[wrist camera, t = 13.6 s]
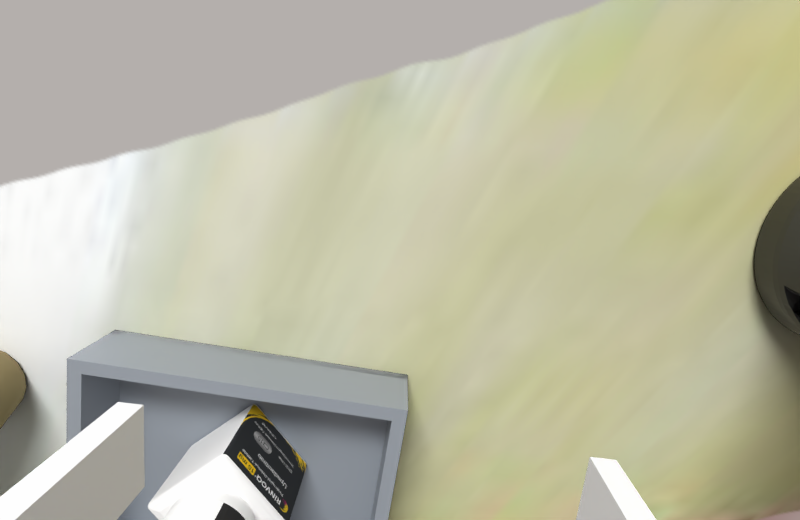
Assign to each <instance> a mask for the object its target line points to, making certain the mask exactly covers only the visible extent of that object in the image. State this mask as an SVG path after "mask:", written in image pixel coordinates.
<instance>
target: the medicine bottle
mask: <svg viewBox="0 0 800 520" xmlns="http://www.w3.org/2000/svg"><path fill="white" fill-rule="evenodd" d="M306 466H307V464H306V462H305V461H304V460H303V458H302V457H301V456H300V455H299V454H298V452H297V451H296V450H295V449H294V448H293V447H292V445H291V444H290V443H289V442H288V441H287V440H286V438H285V437H284V436H283V435H282V434H281V432H280V431H279V430H278V429H277V428H276V427H275V425H274V424H273V423H272V422H271V421H270V420H269V418H268V417H267V416H266V415H265V414H264V412H263V411H262V410H261V409H260V408H259V407H258V405H256V404H253V405H251V406H249V407H248V408H246V409H245V410H243V411H242V412H240V413H239V414H238V415H236V416H235V417H233V418H232V419H230V420H229V421H227V422H226V423H224V424H223V425H221V426H220V427H218V428H217V429H215V430H214V431H212V432H211V433H209V434H208V435H206V436H205V437H204V438H202V439H201V440H199V441H198V442H196V443H195V444H193V445H192V446H191V447H190V448H189V449H188V451H187V452H186V454H185V455H184V456H183V458H182V459H181V460H180V462H179V463H178V464H177V466H176V467H175V468H174V470H173V471H172V472H171V474H170V475H169V477H168V478H167V479H166V481H165V482H164V483H163V485H162V486H161V487H160V489H159V490H158V491H157V493H156V494H155V495H154V497H153V498H152V500H151V501H150V502H149V504H148V509H149V510H150V511H151V512H152V513H153V514H154V515H155V517H156V518H157V519H158V520H290V517H291V514H292V511H293V508H294V505H295V501H296V498H297V495H298V492H299V489H300V486H301V483H302V479H303V476H304V473H305V470H306Z"/></svg>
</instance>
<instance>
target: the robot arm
mask: <svg viewBox="0 0 800 520" xmlns="http://www.w3.org/2000/svg"><path fill="white" fill-rule="evenodd" d="M755 277H756V283H757V286H758V290H759V293H760V295H761V298H762V300H763V302H764V303H765V305H766V307H767V308H768V310H769V311H770V313H771V314H772V315H773V316H774V317H775V318H776V319H777V320H778V321H779V322H780V323H781V324H783V325H784V326H785V327H787V328H788V329H790V330H791V331H793V332H795V333H797V334H799V335H800V177H799V178H798V179H796V180H795V181H794V182H793V183H792V184H791V185H790V186H789V187H788V188H787V189H786V190H785V191H784V192H783V194H782V195H781V196H780V197H779V199H778V200H777V201H776V203H775V204H774V206H773V207H772V209H771V210H770V212H769V214H768V216H767V218H766V219H765V222H764V224H763V226H762V229H761V231H760V234H759V238H758V241H757V246H756V252H755ZM144 487H145V472H144V405H140V404H132V403H123V402H117V403H116V404H115V405H114V406H112V407H111V408H110V409H109V410H107V411H106V412H105V413H104V414H102V415H101V416H100V417H99V418H97V419H96V420H95V421H94V422H92V423H91V424H90V425H89V426H87V427H86V428H85V429H84V430H83V431H81V432H80V433H79V434H78V435H76V436H75V437H74V438H73V439H71V440H70V441H69V442H68V443H66V444H65V445H64V446H63V447H61V448H60V449H59V450H58V451H56V452H55V453H54V454H53V455H51V456H50V457H49V458H48V459H46V460H45V461H44V462H43V463H42V464H40V465H39V466H38V467H37V468H35V469H34V470H33V471H32V472H30V473H29V474H28V475H27V476H25V477H24V478H23V479H22V480H20V481H19V482H18V483H17V484H15V485H14V486H13V487H12V488H10V489H9V490H8V491H7V492H5V493H4V494H3V495H2V496H1V497H0V520H117V519H118V518H119V517H120V515H121V514H122V513H123V512H124V511H125V509H126V508H127V507H128V506H129V505H130V503H131V502H132V501H133V500H134V499H135V497H136V496H137V495H138V494H139V493H140V491H141V490H142V489H143V488H144ZM576 520H656V519H655V517H654V516H653V514H652V513H651V511H650V510H649V508H648V507H647V505H646V504H645V502H644V501H643V499H642V498H641V496H640V495H639V493H638V492H637V490H636V489H635V487H634V486H633V484H632V483H631V481H630V480H629V478H628V477H627V475H626V474H625V472H624V471H623V469H622V468H621V466H620V465H619V463H618V462H617V460H613V459H604V458H595V457H590V458H589V463H588V468H587V472H586V477H585V481H584V486H583V491H582V495H581V500H580V504H579V509H578V514H577V518H576Z"/></svg>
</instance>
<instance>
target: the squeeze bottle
mask: <svg viewBox="0 0 800 520" xmlns="http://www.w3.org/2000/svg"><path fill="white" fill-rule="evenodd" d="M25 390H26V381H25V375H24V373H23V371H22V370H21V368H20V366H19V365H18V363H17V362H16V361H15V360H14V359H13V358H11V357H10V356H9V355H8V354H7V353H5V352H3V351H0V429H1V427H2V426H3V425H4V423H5V422H6V421H7V419H8V418H9V417H10V415H11V414H12V413H13V411H14V410H15V409H16V407H17V406H18V405H19V403H20V402H21V401H22V399H23V397H24V394H25Z"/></svg>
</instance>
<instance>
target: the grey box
mask: <svg viewBox="0 0 800 520" xmlns="http://www.w3.org/2000/svg"><path fill="white" fill-rule="evenodd" d="M117 402H123V403H132V404H140V405H144V472H145V487H144V488H143V489H142V490H141V491H140V493H139V494H138V495H137V496H136V497H135V499H134V500H133V501H132V502H131V503H130V505H129V506H128V507H127V508H126V509H125V511H124V512H123V513H122V514H121V515H120V517H119V518H118V519H117V520H158V519H157V518H156V517H155V515H154V514H153V513H152V512H151V511H150V510H149V509H148V504H149V502H150V501H151V500H152V498H153V497H154V495H155V494H156V493H157V491H158V490H159V489H160V487H161V486H162V485H163V483H164V482H165V481H166V479H167V478H168V477H169V475H170V474H171V472H172V471H173V470H174V468H175V467H176V466H177V464H178V463H179V462H180V460H181V459H182V458H183V456H184V455H185V454H186V452H187V451H188V449H189V448H190V447H191V446H192V445H193V444H195V443H196V442H198V441H199V440H201V439H202V438H204V437H205V436H206V435H208V434H209V433H211V432H212V431H214V430H215V429H217V428H218V427H220V426H221V425H223V424H224V423H226V422H227V421H229V420H230V419H232V418H233V417H235V416H236V415H238V414H239V413H240V412H242V411H243V410H245V409H246V408H248V407H249V406H251V405H253V404H256V405H258V407H259V408H260V409H261V410H262V411H263V412H264V414H265V415H266V416H267V417H268V418H269V420H270V421H271V422H272V423H273V424H274V425H275V427H276V428H277V429H278V430H279V431H280V432H281V434H282V435H283V436H284V437H285V438H286V440H287V441H288V442H289V443H290V444H291V445H292V447H293V448H294V449H295V450H296V451H297V452H298V454H299V455H300V456H301V457H302V458H303V460H304V461H305V462H306V464H307V466H306V470H305V473H304V476H303V479H302V483H301V486H300V489H299V492H298V495H297V498H296V501H295V505H294V508H293V511H292V514H291V517H290V520H388V517H389V511H390V506H391V500H392V495H393V490H394V484H395V479H396V473H397V468H398V462H399V457H400V451H401V446H402V441H403V435H404V430H405V424H406V419H407V413H408V376H407V375H405V374H398V373H392V372H385V371H379V370H372V369H366V368H359V367H353V366H346V365H340V364H333V363H327V362H320V361H314V360H307V359H301V358H294V357H288V356H281V355H275V354H268V353H262V352H255V351H249V350H242V349H236V348H229V347H223V346H216V345H210V344H203V343H197V342H190V341H184V340H177V339H171V338H164V337H158V336H151V335H145V334H138V333H132V332H125V331H119V330H114V331H113V332H111V333H109V334H108V335H106V336H104V337H103V338H101V339H99V340H98V341H96V342H94V343H93V344H91V345H89V346H88V347H86V348H84V349H83V350H81V351H79V352H78V353H76V354H74V355H73V356H71V357H69V358H68V359H67V443H68V442H69V441H70V440H71V439H73V438H74V437H75V436H76V435H78V434H79V433H80V432H81V431H83V430H84V429H85V428H86V427H87V426H89V425H90V424H91V423H92V422H94V421H95V420H96V419H97V418H99V417H100V416H101V415H102V414H104V413H105V412H106V411H107V410H109V409H110V408H111V407H112V406H114V405H115V404H116V403H117Z"/></svg>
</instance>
